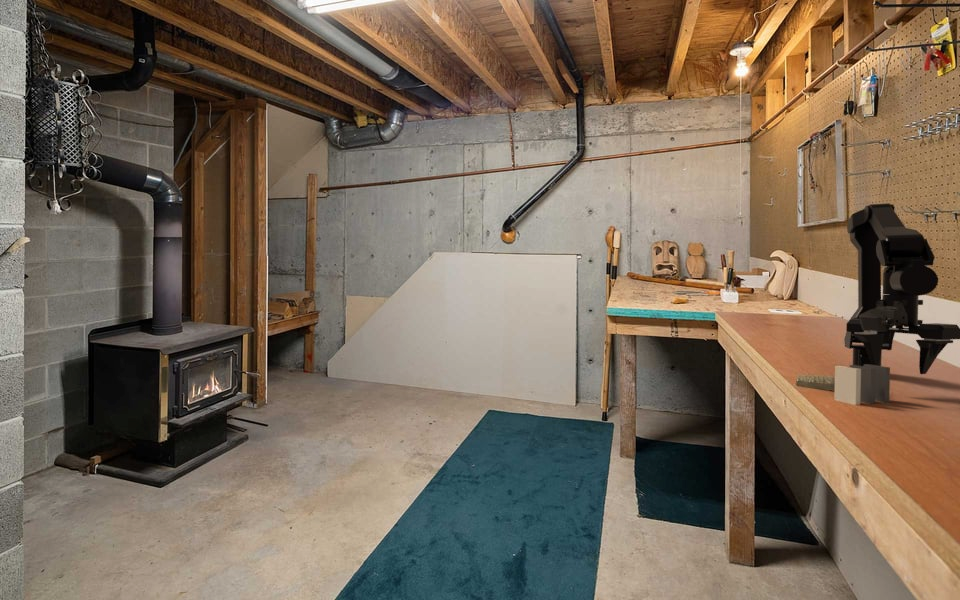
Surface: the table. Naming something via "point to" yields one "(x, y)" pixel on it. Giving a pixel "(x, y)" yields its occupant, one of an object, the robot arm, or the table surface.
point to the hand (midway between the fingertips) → (898, 370)
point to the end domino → (847, 385)
